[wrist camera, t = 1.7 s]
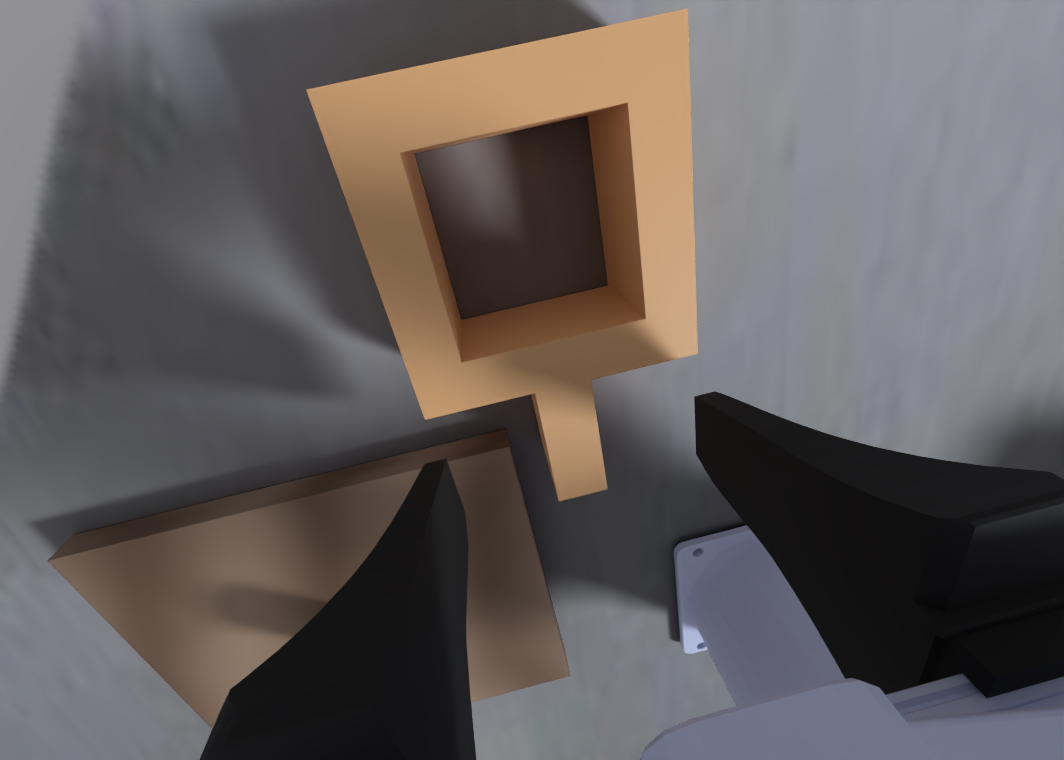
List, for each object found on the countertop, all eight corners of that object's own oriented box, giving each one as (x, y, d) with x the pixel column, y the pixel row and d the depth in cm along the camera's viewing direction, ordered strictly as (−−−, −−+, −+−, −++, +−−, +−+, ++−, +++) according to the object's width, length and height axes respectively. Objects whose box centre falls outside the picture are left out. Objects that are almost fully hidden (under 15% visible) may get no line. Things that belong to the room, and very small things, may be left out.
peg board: (505, 428, 17) (524, 537, 12) (565, 652, 23) (592, 782, 19) (73, 534, 16) (-90, 694, 12) (255, 734, 23) (200, 892, 18)
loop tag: (345, 106, 12) (305, 89, 9) (630, 45, 12) (688, 8, 9) (462, 459, 17) (463, 525, 14) (658, 411, 18) (701, 465, 15)
